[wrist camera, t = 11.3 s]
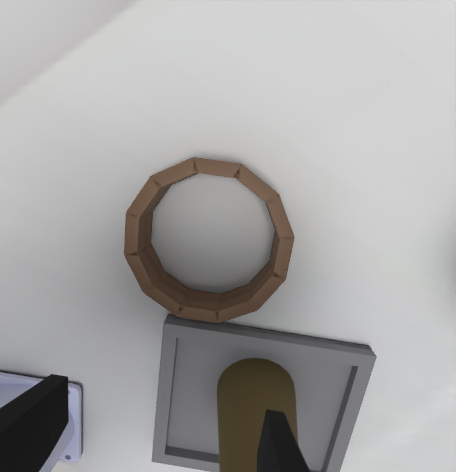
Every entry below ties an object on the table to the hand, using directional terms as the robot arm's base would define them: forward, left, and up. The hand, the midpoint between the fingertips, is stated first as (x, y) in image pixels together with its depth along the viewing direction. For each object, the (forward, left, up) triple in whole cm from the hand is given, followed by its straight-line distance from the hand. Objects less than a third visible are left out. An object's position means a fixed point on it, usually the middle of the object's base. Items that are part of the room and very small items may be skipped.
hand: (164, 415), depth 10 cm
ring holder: (0, +4, -10) cm, 11 cm away
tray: (+5, -9, -10) cm, 15 cm away
